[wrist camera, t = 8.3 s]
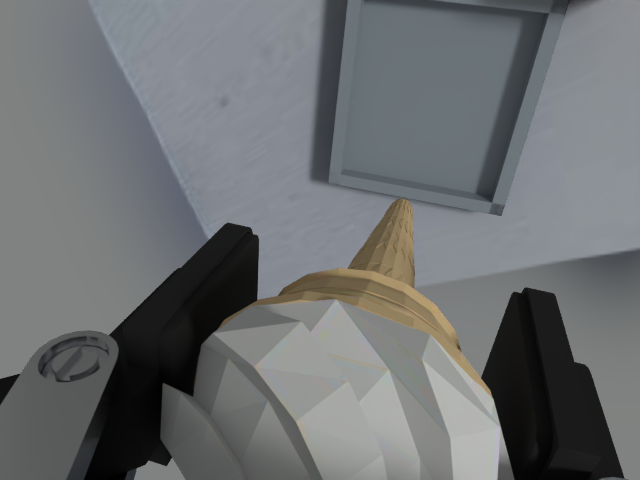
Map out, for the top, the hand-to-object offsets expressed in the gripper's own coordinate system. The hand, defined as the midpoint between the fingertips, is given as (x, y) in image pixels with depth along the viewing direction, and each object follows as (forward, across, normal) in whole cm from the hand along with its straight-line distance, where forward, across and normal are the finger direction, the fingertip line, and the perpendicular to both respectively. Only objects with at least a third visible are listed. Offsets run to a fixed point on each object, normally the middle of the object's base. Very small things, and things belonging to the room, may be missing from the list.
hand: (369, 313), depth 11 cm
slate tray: (+24, 0, 0) cm, 24 cm away
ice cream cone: (+7, 0, 0) cm, 7 cm away
